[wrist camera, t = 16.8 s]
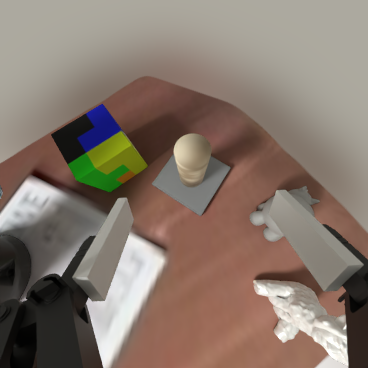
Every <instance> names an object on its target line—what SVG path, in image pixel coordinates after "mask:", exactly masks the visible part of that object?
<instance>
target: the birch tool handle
mask: <svg viewBox="0 0 368 368" xmlns="http://www.w3.org/2000/svg"><path fill="white" fill-rule="evenodd" d="M174 155H175V160H176V164H177V168H178V172H179V176H180V180H181V182H182V183H183V184H184V185H185V186H187V187H190V188H193V187H197V186H199V185H200V184H201V183H202V181H203V178H204V175H205V172H206V169H207V166H208V163H209V159H210V156H211V145H210V143H209V141H208V140H207V139H206V138H205V137H203V136H201V135H199V134H187V135H184V136H182V137H181V138H180V139H179V140H178V141H177V142H176V144H175V147H174Z"/></svg>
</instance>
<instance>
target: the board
mask: <svg viewBox="0 0 368 368" xmlns="http://www.w3.org/2000/svg"><path fill="white" fill-rule="evenodd" d="M230 168H231V167H229V166H227V165H226V164H224V163H222V162H220V161H219V160H217V159H215V158H213V157H212V156H210V159H209V163H208V166H207V169H206V172H205V175H204V178H203V181H202V183H201V184H200V185H199V186H197V187H193V188H190V187H187V186H185V185H184V184H183V183H182V182H181V180H180V176H179V172H178V168H177V164H176V160H175V155H174V154H173V155H172V157H171V158H170V160H169V161H168V162H167V164H166V165H165V166H164V168H163V169H162V171H161V172H160V173H159V175H158V176H157V178H156V179H155V180H154V182H153V183H152V184H153V185H154V186H155V187H157V188H158V189H160V190H161V191H163V192H164V193H166V194H167V195H169V196H170V197H172V198H173V199H175V200H176V201H178V202H180V203H181V204H183V205H184V206H186V207H187V208H189V209H190V210H192V211H193V212H195V213H196V214H198V215H199V216H201V215H202V213H203V211H204V210H205V208H206V207H207V205H208V203H209V202H210V200H211V198H212V197H213V195H214V194H215V192H216V190H217V189H218V187H219V186H220V184H221V182H222V181H223V179H224V177H225V176H226V174H227V173H228V171H229V169H230Z"/></svg>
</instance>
